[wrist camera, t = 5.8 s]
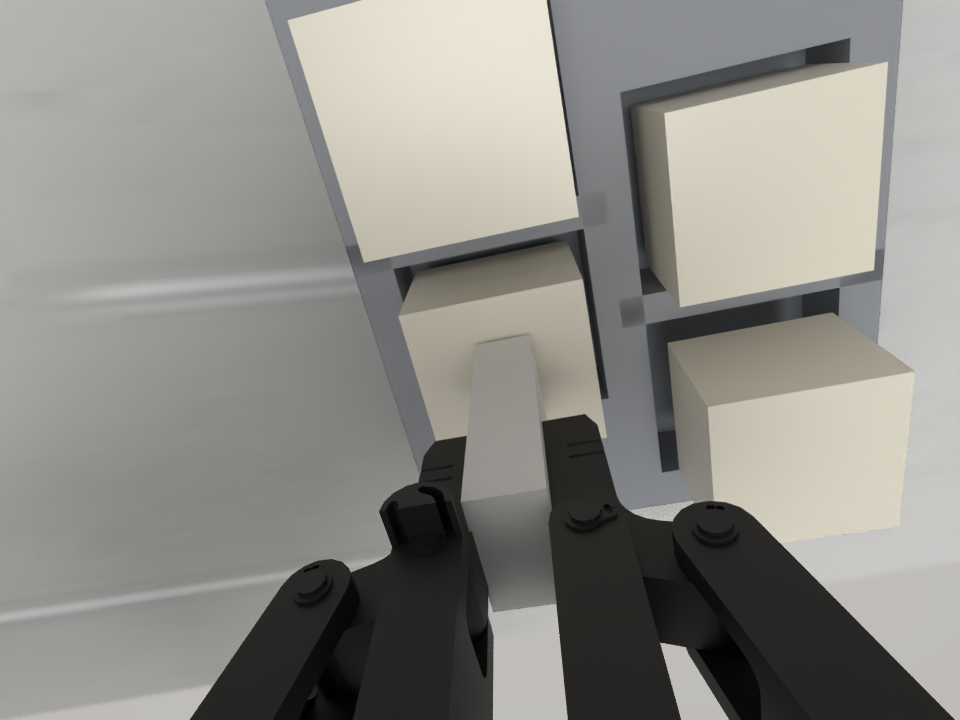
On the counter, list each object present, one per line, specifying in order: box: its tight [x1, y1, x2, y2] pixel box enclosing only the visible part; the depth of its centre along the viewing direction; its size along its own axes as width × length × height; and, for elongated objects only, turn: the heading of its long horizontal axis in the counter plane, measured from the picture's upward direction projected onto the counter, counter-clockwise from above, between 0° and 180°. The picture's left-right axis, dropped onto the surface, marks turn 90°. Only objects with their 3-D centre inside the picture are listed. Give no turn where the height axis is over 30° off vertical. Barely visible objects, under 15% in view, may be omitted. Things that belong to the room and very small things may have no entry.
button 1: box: [667, 312, 915, 543], centre depth 18 cm, size 5×5×4 cm
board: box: [265, 0, 903, 510], centre depth 19 cm, size 16×25×5 cm, turn 13°
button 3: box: [630, 62, 888, 307], centre depth 16 cm, size 5×5×4 cm
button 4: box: [287, 0, 579, 263], centre depth 14 cm, size 5×5×4 cm
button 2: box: [398, 240, 607, 441], centre depth 18 cm, size 5×5×4 cm
